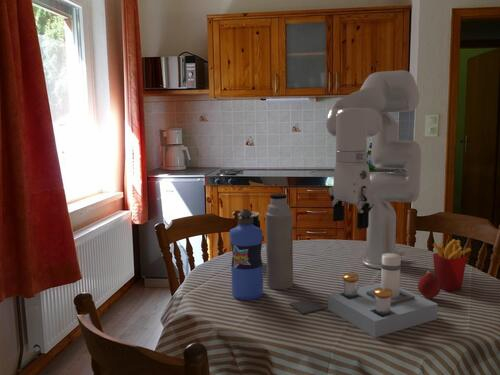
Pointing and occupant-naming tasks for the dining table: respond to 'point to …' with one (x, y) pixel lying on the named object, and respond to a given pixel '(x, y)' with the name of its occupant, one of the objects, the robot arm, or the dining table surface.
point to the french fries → (450, 265)
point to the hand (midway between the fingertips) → (350, 224)
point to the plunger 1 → (350, 285)
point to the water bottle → (246, 258)
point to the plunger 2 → (383, 301)
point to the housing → (402, 316)
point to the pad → (307, 306)
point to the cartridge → (391, 273)
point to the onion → (429, 286)
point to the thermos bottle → (279, 243)
